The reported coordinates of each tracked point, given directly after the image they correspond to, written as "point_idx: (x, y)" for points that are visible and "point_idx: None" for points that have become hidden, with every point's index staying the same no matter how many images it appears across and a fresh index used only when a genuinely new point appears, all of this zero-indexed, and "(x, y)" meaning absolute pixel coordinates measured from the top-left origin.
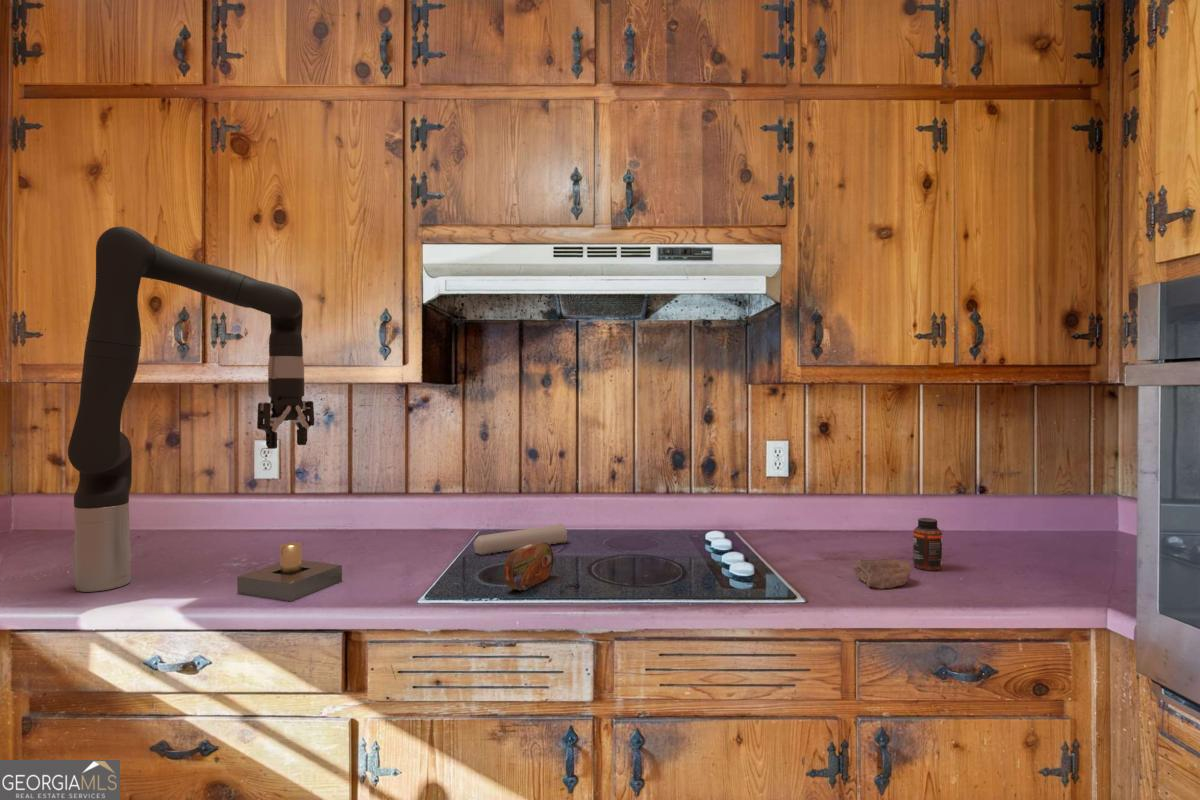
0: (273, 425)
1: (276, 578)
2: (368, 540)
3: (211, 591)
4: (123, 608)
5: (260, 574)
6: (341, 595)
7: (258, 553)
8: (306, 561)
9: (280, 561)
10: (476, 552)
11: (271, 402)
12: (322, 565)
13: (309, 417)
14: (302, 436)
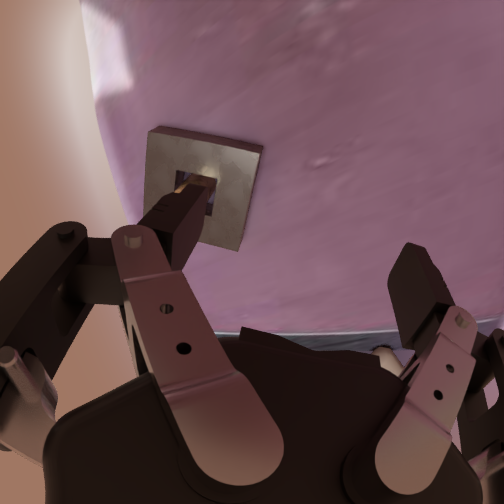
0: (121, 318)
1: (155, 196)
2: (485, 184)
3: (159, 80)
4: (85, 33)
5: (165, 159)
6: (189, 261)
7: (394, 9)
8: (247, 188)
9: (176, 189)
10: (376, 349)
11: (52, 481)
12: (229, 225)
13: (461, 417)
14: (400, 305)
